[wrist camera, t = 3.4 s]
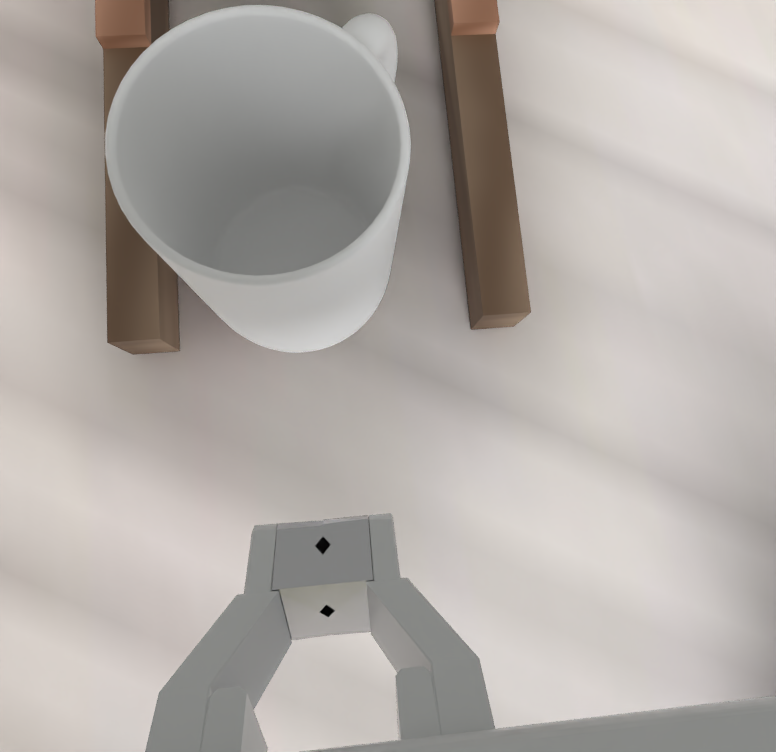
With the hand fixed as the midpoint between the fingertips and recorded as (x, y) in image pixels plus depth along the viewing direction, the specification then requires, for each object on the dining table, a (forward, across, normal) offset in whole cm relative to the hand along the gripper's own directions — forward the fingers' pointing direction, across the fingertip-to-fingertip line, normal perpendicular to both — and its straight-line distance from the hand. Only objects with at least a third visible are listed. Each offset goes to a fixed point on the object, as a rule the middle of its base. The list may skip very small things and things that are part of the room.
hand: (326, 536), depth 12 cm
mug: (+17, 0, 0) cm, 17 cm away
